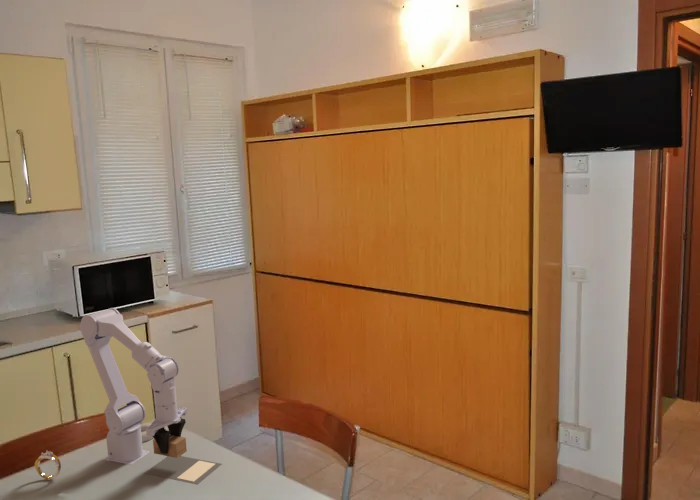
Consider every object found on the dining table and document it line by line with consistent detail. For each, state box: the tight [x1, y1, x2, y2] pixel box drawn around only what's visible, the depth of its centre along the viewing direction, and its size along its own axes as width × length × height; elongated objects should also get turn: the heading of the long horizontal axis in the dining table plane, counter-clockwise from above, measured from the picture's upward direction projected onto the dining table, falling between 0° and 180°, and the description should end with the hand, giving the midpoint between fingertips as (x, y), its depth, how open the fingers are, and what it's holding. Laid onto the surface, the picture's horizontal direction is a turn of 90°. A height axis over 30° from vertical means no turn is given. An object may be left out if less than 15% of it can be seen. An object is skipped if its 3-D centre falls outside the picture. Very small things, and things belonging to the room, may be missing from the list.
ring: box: [34, 449, 62, 481], centre depth 156 cm, size 7×3×8 cm, turn 76°
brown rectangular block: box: [152, 435, 187, 458], centre depth 158 cm, size 8×4×4 cm, turn 67°
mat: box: [144, 455, 223, 485], centre depth 158 cm, size 18×11×1 cm, turn 67°
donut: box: [141, 422, 154, 443], centre depth 178 cm, size 10×4×10 cm
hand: (170, 449), depth 158 cm, fingers closed on brown rectangular block, 4 cm apart
